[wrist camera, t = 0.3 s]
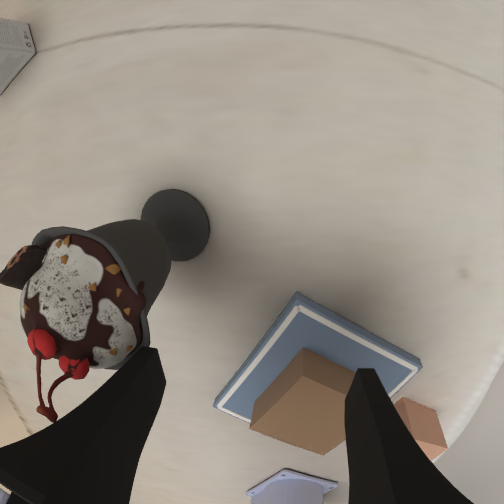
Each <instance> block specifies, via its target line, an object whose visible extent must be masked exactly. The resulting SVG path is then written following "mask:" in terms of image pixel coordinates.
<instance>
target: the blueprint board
mask: <svg viewBox="0 0 504 504" xmlns="http://www.w3.org/2000/svg"><path fill="white" fill-rule="evenodd" d="M422 367H423V366H422V364H421V361H420V359H418V358H416V357H414V356H413V355H411V354H409V353H407V352H405V351H403V350H401V349H400V348H398V347H396V346H394V345H392V344H390V343H389V342H387V341H385V340H383V339H381V338H379V337H378V336H376V335H374V334H372V333H370V332H368V331H367V330H365V329H363V328H361V327H359V326H357V325H356V324H354V323H352V322H350V321H348V320H347V319H345V318H343V317H341V316H339V315H337V314H336V313H334V312H332V311H330V310H328V309H327V308H325V307H323V306H321V305H319V304H318V303H316V302H314V301H312V300H310V299H309V298H307V297H305V296H303V295H301V294H300V293H298V292H296V293H295V295H294V296H293V297H292V299H291V300H290V302H289V303H288V304H287V306H286V307H285V308H284V310H283V311H282V313H281V314H280V315H279V317H278V318H277V319H276V321H275V322H274V324H273V325H272V326H271V328H270V329H269V330H268V332H267V333H266V334H265V336H264V337H263V338H262V340H261V341H260V342H259V344H258V345H257V346H256V348H255V349H254V350H253V351H252V353H251V354H250V355H249V357H248V358H247V359H246V361H245V362H244V363H243V364H242V366H241V367H240V368H239V370H238V371H237V372H236V373H235V375H234V376H233V377H232V379H231V380H230V381H229V382H228V384H227V385H226V386H225V387H224V389H223V390H222V391H221V392H220V394H219V395H218V396H217V397H216V399H215V401H214V404H213V407H214V408H216V409H219V410H221V411H223V412H225V413H227V414H229V415H232V416H234V417H236V418H238V419H241V420H243V421H245V422H248V423H250V428H249V429H252V430H254V431H257V432H259V433H262V434H264V435H267V436H269V437H272V438H275V439H277V440H280V441H283V442H285V443H288V444H291V445H294V446H297V447H300V448H303V449H306V450H309V451H312V452H315V453H318V454H321V455H325V454H326V453H328V452H329V451H330V450H332V449H333V448H335V447H336V446H337V445H339V444H340V443H341V442H343V441H344V440H345V439H346V435H345V425H344V411H345V398H346V396H347V393H348V391H349V389H350V386H351V384H352V381H353V379H354V376H355V374H356V371H357V369H358V368H374V369H375V370H376V372H377V374H378V376H379V378H380V380H381V382H382V384H383V386H384V388H385V390H386V392H387V394H388V395H389V397H390V398H391V397H392V396H393V395H395V394H396V393H397V392H398V391H399V390H400V389H401V388H402V387H403V386H404V385H405V384H406V383H407V382H408V381H409V380H410V379H411V378H412V377H413V376H414V375H416V374H417V373H418V372H419V371H420V369H421V368H422Z"/></svg>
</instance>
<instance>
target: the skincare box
mask: <svg viewBox="0 0 504 504" xmlns="http://www.w3.org/2000/svg"><path fill="white" fill-rule="evenodd" d="M35 53H36V52H35V48H34V44H33V41H32V37H31V34H30V30H29V26H28V24H27V23H24V22H19V21H14V20H9V19H4V18H0V95H1V93H2V92H3V91H4V89H5V88H6V87H7V86H8V84H9V83H10V82H11V81H12V79H13V78H14V77H15V76H16V75H17V73H18V72H19V71H20V70H21V69H22V68H23V66H24V65H25V64H26V63H27V62H28V61H29V60H30V59H31V57H32V56H33V55H34V54H35Z"/></svg>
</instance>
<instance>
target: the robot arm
mask: <svg viewBox="0 0 504 504" xmlns="http://www.w3.org/2000/svg"><path fill="white" fill-rule="evenodd" d="M165 386H166V379H165V376H164V372H163V368H162V365H161V361H160V357H159V354H158V350H157V349H156V348H151V347H146V346H142V347H140V348H139V349H138V350H137V351H136V352H135V353H134V354H133V355H132V356H131V357H130V359H129V360H128V361H127V362H126V363H125V364H124V365H123V366H122V367H121V368H120V369H119V370H118V371H117V372H116V373H115V374H114V375H113V376H112V377H111V378H110V379H108V380H107V381H106V382H105V383H104V384H103V385H102V386H101V387H100V388H99V389H98V390H97V391H95V392H94V393H93V394H92V395H91V396H90V397H89V398H87V399H86V400H85V401H84V402H83V403H81V404H80V405H79V406H78V407H76V408H75V409H74V410H72V411H71V412H70V413H68V414H67V415H65V416H64V417H62V418H61V419H59V420H58V421H56V422H55V423H53V424H51V425H50V426H48V427H46V428H45V429H43V430H41V431H39V432H37V433H35V434H33V435H31V436H29V437H27V438H25V439H22V440H20V441H18V442H15V443H12V444H10V445H7V446H4V447H1V448H0V484H2V485H3V486H5V487H6V488H7V489H9V490H10V491H12V492H11V494H8V493H7V492H5V491H4V490H2V489H1V488H0V504H129V501H130V496H131V491H132V486H133V482H134V477H135V473H136V469H137V466H138V462H139V458H140V455H141V452H142V450H143V447H144V445H145V442H146V440H147V437H148V435H149V432H150V430H151V427H152V425H153V422H154V420H155V417H156V415H157V412H158V410H159V407H160V405H161V401H162V397H163V394H164V390H165ZM344 425H345V435H346V445H347V455H348V466H349V482H350V486H349V504H474V503H472V502H471V501H470V500H469V499H467V498H466V497H465V496H464V495H463V494H461V492H459V491H458V490H457V489H456V488H455V487H454V486H453V485H452V484H451V483H450V482H449V481H448V480H447V479H446V478H445V477H444V476H443V475H442V473H441V472H440V471H439V470H438V469H437V468H436V467H435V466H434V464H433V463H432V462H431V461H430V460H429V458H428V457H427V456H426V454H425V453H424V452H423V450H422V449H421V448H420V446H419V445H418V444H417V442H416V441H415V439H414V438H413V436H412V435H411V433H410V432H409V430H408V428H407V427H406V425H405V424H404V422H403V420H402V419H401V417H400V415H399V413H398V412H397V410H396V408H395V407H394V405H393V403H392V401H391V399H390V397H389V395H388V394H387V392H386V390H385V388H384V386H383V384H382V382H381V380H380V378H379V376H378V374H377V372H376V370H375V369H374V368H358V369H357V371H356V374H355V376H354V379H353V381H352V384H351V386H350V389H349V391H348V393H347V396H346V398H345V411H344ZM336 487H338V483H335V482H331V481H327V480H323V479H319V478H315V477H312V476H308V475H304V474H301V473H297V472H294V471H291V470H287V469H285V470H282V471H280V472H279V473H277V474H276V475H274V476H273V477H271V478H269V479H268V480H266V481H264V482H263V483H261V484H259V485H258V486H256V487H254V488H253V489H251V490H249V491H247V492H246V495H247V496H250V497H252V500H251V504H323V494H325V493H327V492H329V491H331V490H333V489H335V488H336Z"/></svg>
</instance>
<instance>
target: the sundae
mask: <svg viewBox="0 0 504 504" xmlns="http://www.w3.org/2000/svg"><path fill="white" fill-rule="evenodd" d="M208 237H209V223H208V219H207V215H206V213H205V211H204V210H203V208H202V207H201V205H200V204H199V202H198V201H196V200H195V199H194V198H193V197H192V196H190V195H189V194H187V193H185V192H182V191H179V190H174V189H169V190H163V191H159V192H157V193H156V194H154V195H153V196H151V197H150V198H149V199H148V201H147V202H146V204H145V206H144V208H143V210H142V215H141V220H137V219H131V220H124V221H117V222H113V223H109V224H106V225H103V226H100V227H97V228H94V229H91V230H88V231H85V230H81V229H76V228H70V227H63V226H62V227H52V228H48V229H44V230H42V231H41V232H39V233H38V234H37V235H36V236H35V238H34V239H33V242H32V245H29V246H24V247H23V248H21V249H20V250H19V251H18V252H17V253H16V254H15V255H14V256H13V257H12V258H11V260H10V261H9V263H8V264H7V265H6V267H5V269H4V270H3V271H2V272H1V273H0V284H3V285H6V286H10V287H13V288H17V289H20V290H22V292H21V299H20V317H21V324H22V327H23V330H24V332H25V334H26V336H27V337H28V345H29V347H30V349H31V351H32V353H33V354H34V355H35V356H36V358H37V368H36V369H37V385H38V397H39V401H40V406H38V407H37V412H38V413H40V414H42V415H44V416H46V417H47V418H48V419H49V420H50V421H51V422H53V423H55V422H56V420H57V418H58V415H57V413H56V412H55V410H54V407H53V405H52V400H51V396H52V393H53V391H54V389H55V388H56V387H57V386H58V385H59V384H60V383H61V382H63V381H64V380H66V379H68V378H70V377H71V378H73V379H84V378H85V377H86V375H87V373H88V372H89V368H92V369H102V368H104V369H112V370H118V369H120V368H121V367H122V366H123V365H124V364H125V363H126V362H127V361H128V360H129V359H130V357H131V356H132V355H133V354H134V353H135V352H136V351H137V350H138V349H139V348H140V347H142V346H146V347H149V346H150V332H149V325H148V321H147V315H148V312H149V310H150V308H151V306H152V305H153V303H154V301H155V300H156V298H157V296H158V295H159V293H160V291H161V290H162V288H163V286H164V284H165V281H166V279H167V277H168V274H169V272H170V268H171V260H173V261H187V260H190V259H192V258H194V257H196V256H197V255H199V254H200V253H201V251H202V250H203V249H204V247H205V246H206V244H207V241H208ZM51 358H55V359H58V360H59V366H60V368H61V369H62V370H63V372H64V373H65V374H64V375H63V376H61V377H59V378H58V379H56V380H55V381H54V383H53V384H52V386H51V388H50V390H49V392H48V403H49V408H48V407H45V404H44V402H43V399H42V394H41V376H40V375H41V359H44V360H47V359H51Z"/></svg>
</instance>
